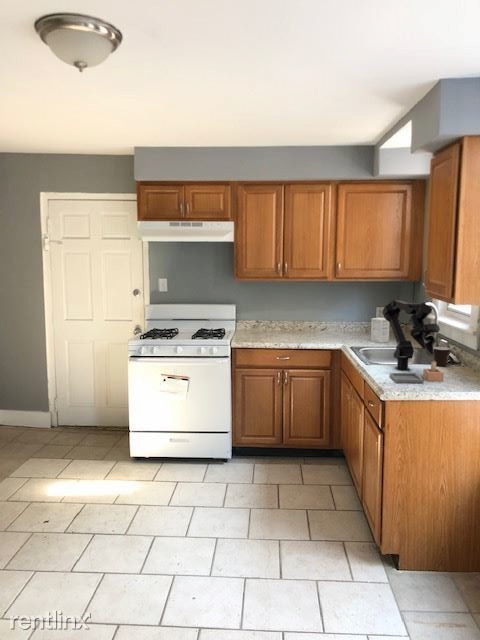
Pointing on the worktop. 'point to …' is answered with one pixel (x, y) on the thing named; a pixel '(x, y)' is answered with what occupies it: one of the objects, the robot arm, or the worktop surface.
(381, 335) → the supplement box
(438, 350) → the coffee mug
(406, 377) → the charcoal tray
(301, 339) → the worktop surface
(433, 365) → the dowel pin
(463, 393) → the worktop surface
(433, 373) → the terracotta square hollow block
